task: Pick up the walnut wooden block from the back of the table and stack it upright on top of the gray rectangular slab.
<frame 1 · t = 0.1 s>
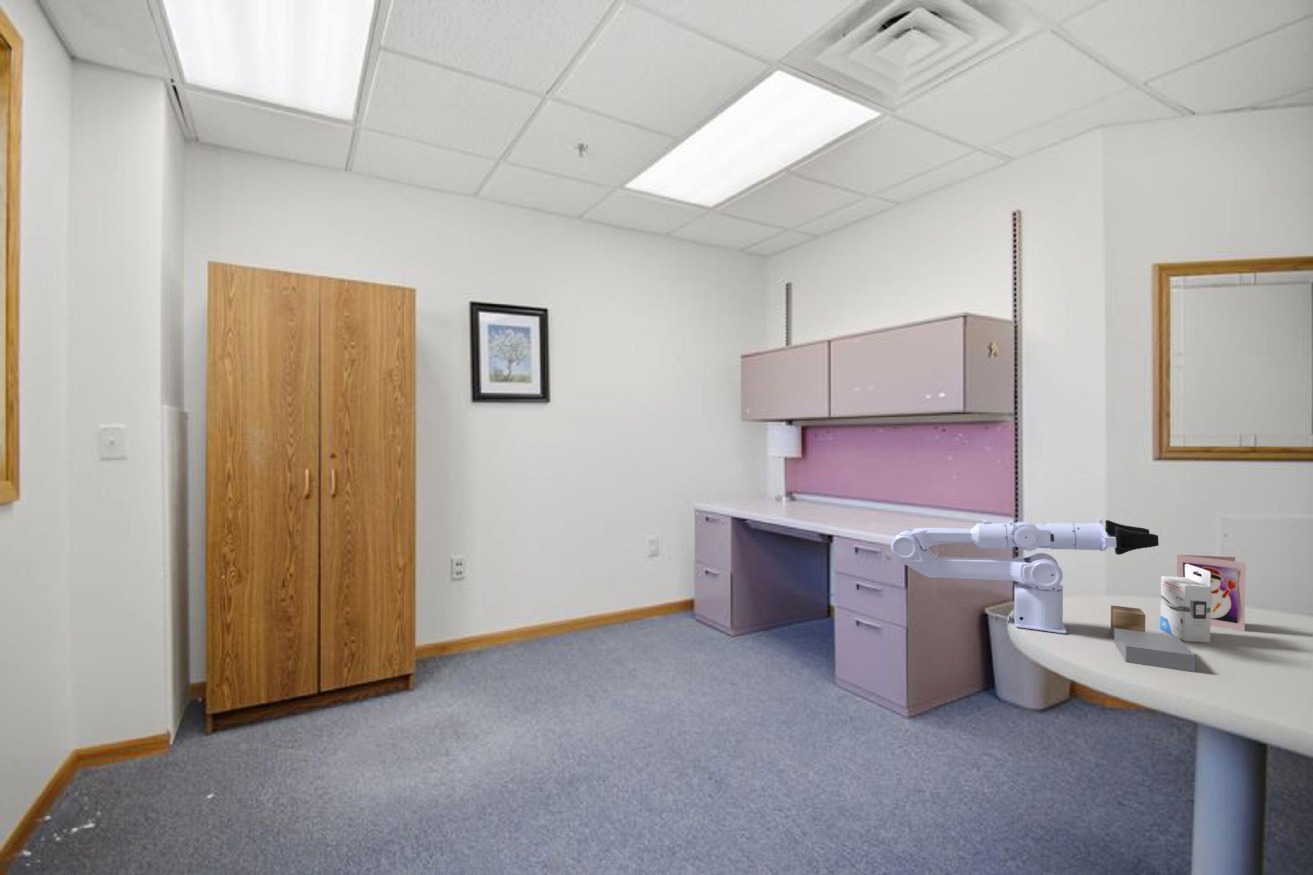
hand: (1153, 537, 126), 22 cm above the table, tool horizontal, fingers open, 7 cm apart
greeting card: (1210, 623, 139), on the table
gray rectangular slab: (1151, 656, 117), on the table
walnut block: (1127, 638, 128), on the table
ink box: (1184, 636, 130), on the table
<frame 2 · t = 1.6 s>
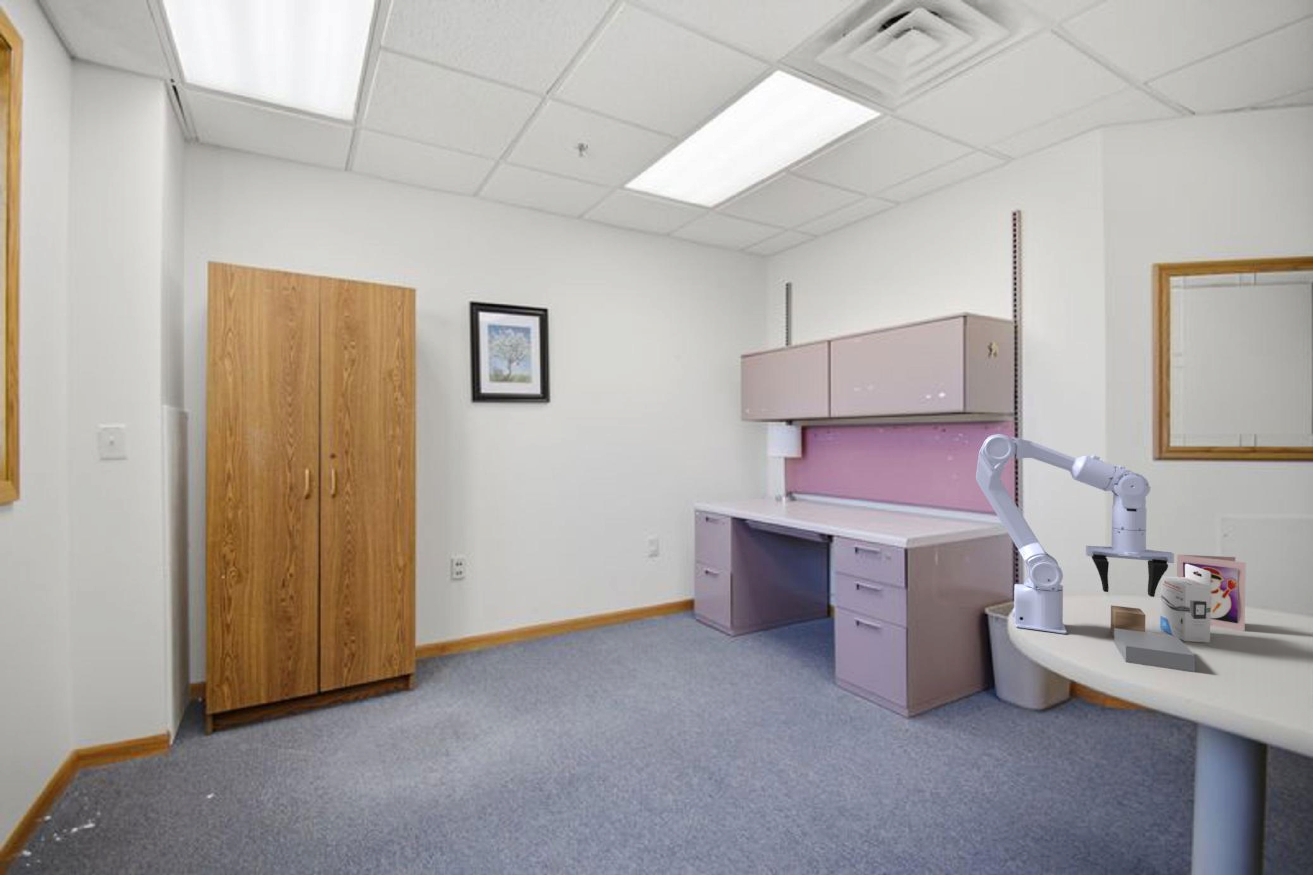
hand: (1127, 593, 128), 9 cm above the table, tool pointing down, fingers open, 7 cm apart
nothing on the table moved.
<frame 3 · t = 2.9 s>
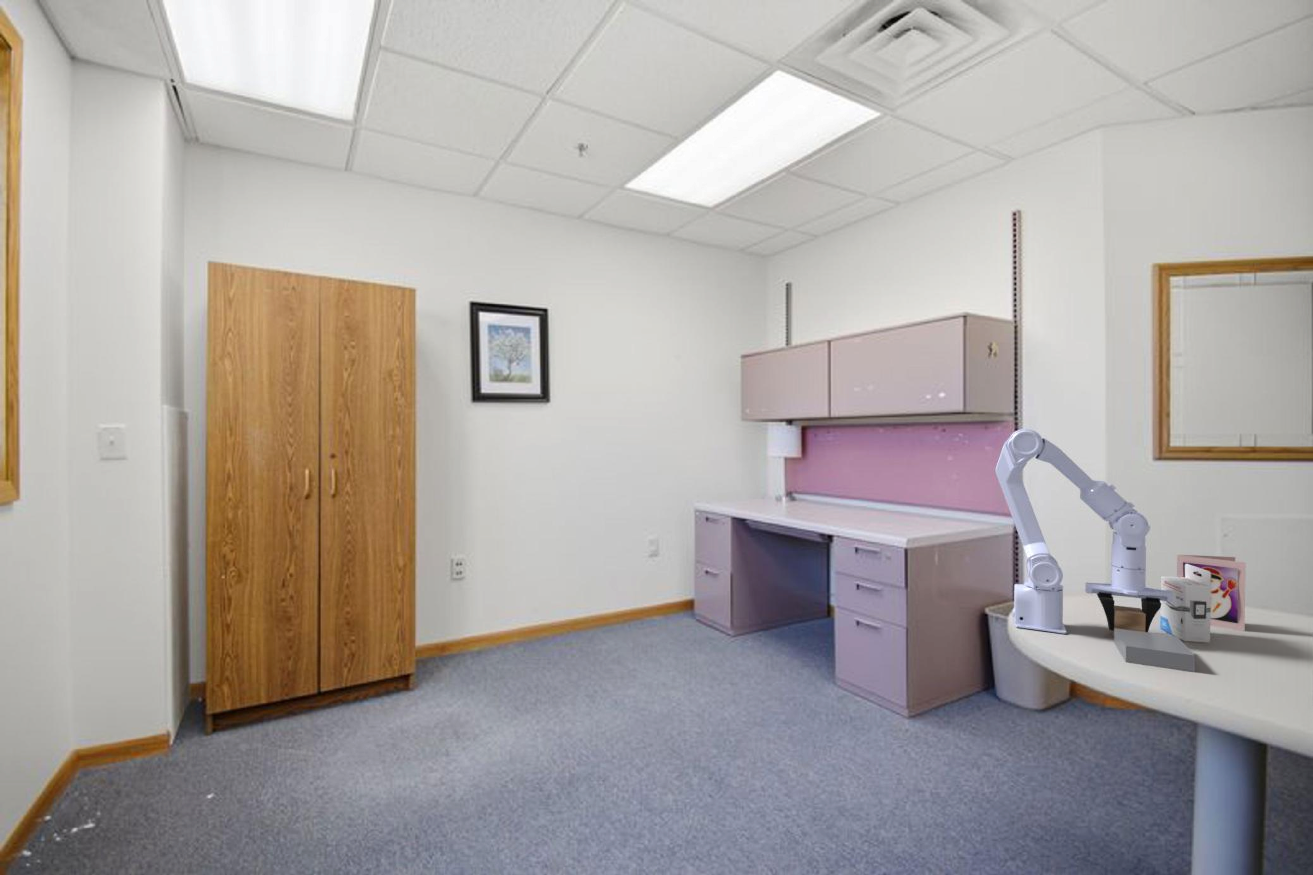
hand: (1127, 631, 128), 1 cm above the table, tool pointing down, fingers closed on walnut block, 5 cm apart
walnut block: (1127, 638, 128), on the table, touching gripper
everything else where it was.
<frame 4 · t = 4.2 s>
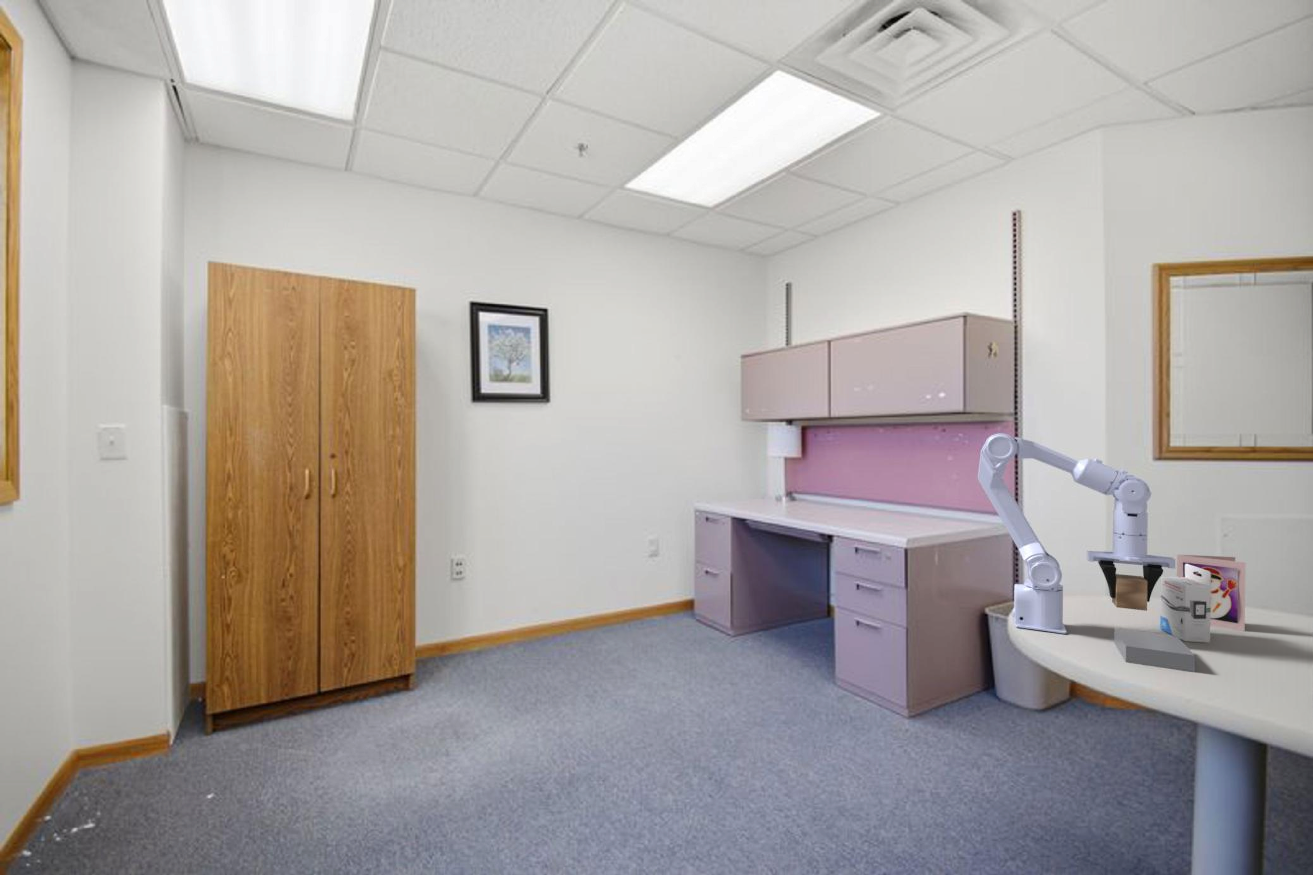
hand: (1129, 598, 127), 8 cm above the table, tool pointing down, fingers closed on walnut block, 5 cm apart
walnut block: (1129, 606, 128), point 7 cm above the table, touching gripper
everything else where it was.
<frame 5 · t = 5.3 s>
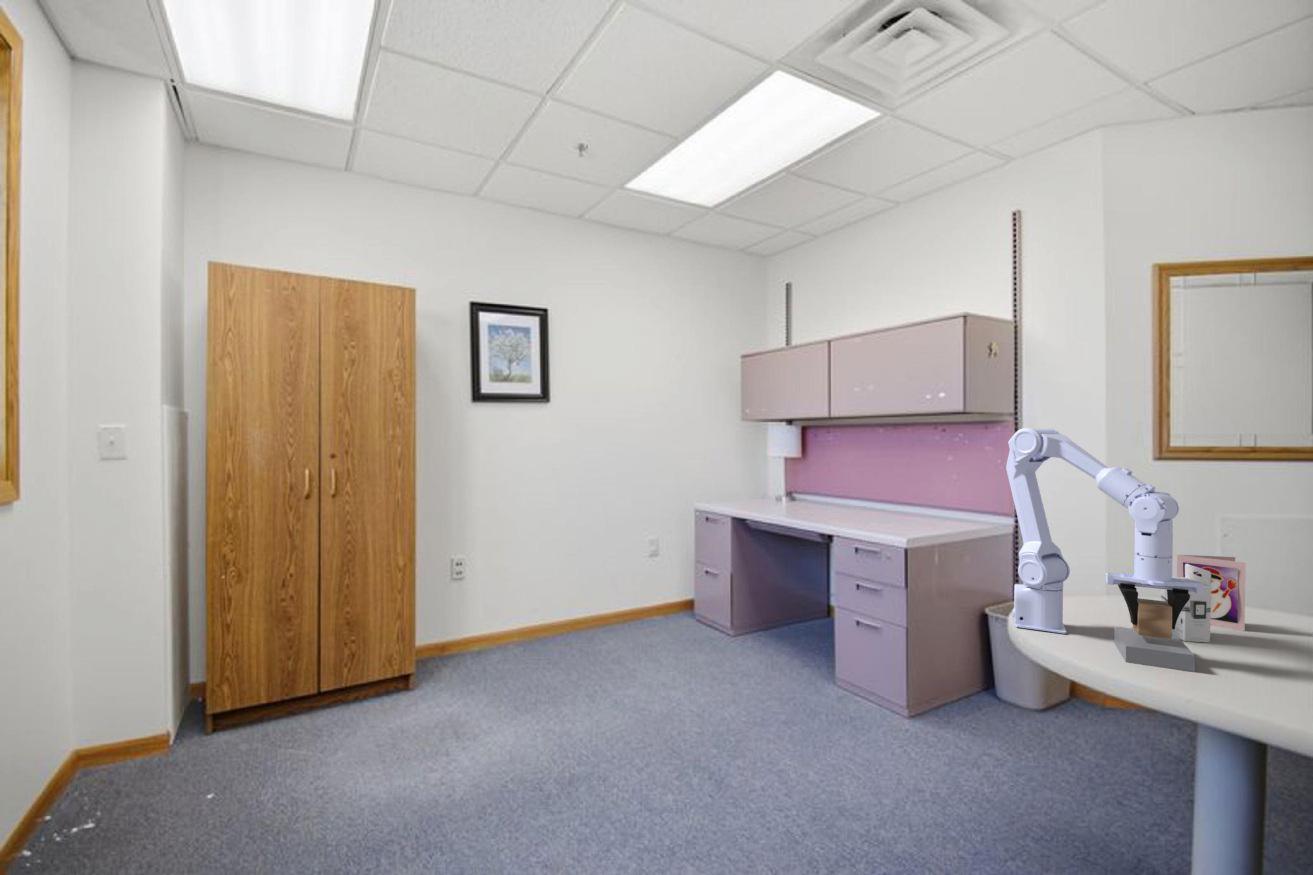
hand: (1152, 625, 117), 6 cm above the table, tool pointing down, fingers closed on walnut block, 5 cm apart
walnut block: (1151, 633, 118), point 4 cm above the table, touching gripper
everything else where it was.
when the fingers open (6 cm above the table, at t = 5.8 s): walnut block drops 1 cm, resting on gray rectangular slab.
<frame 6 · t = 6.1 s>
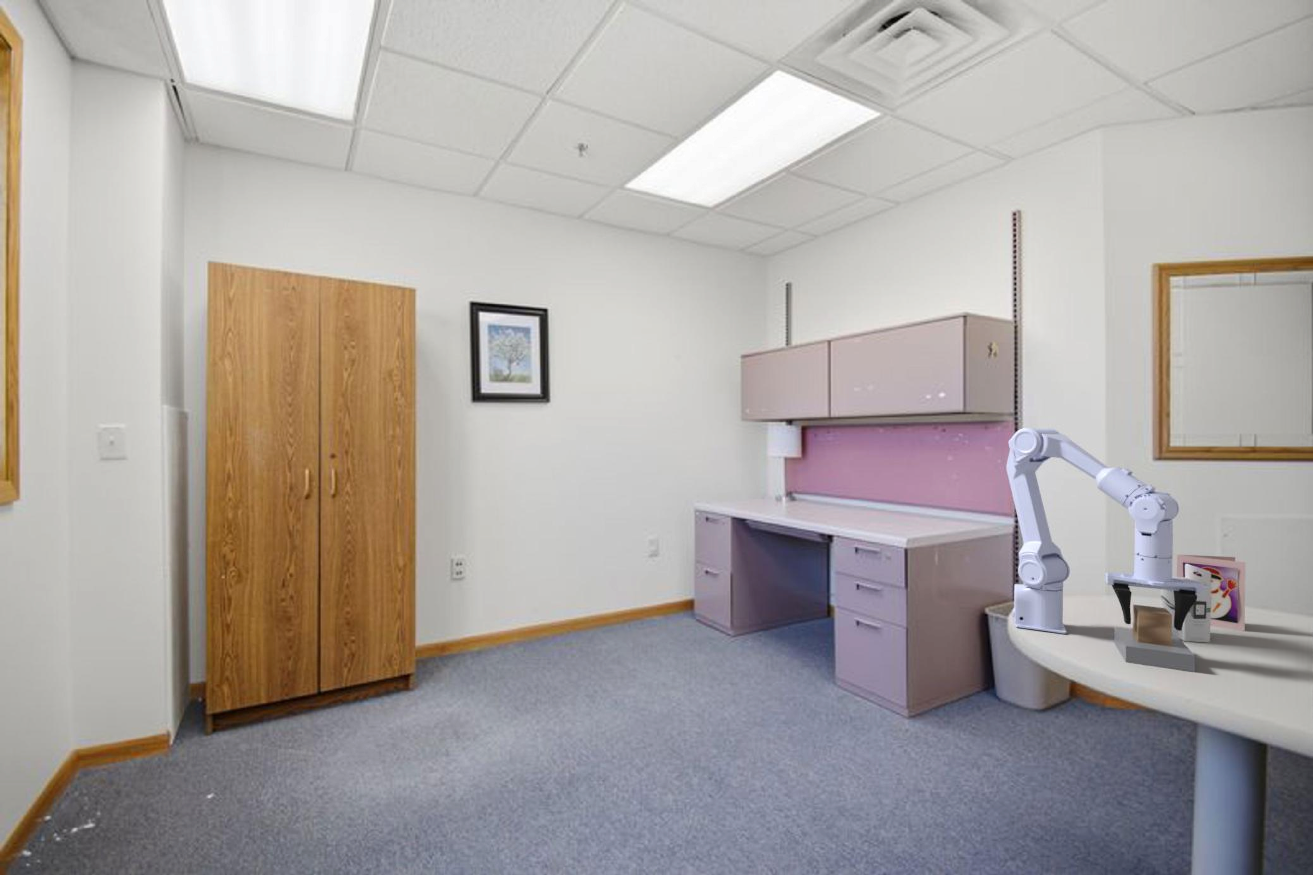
hand: (1152, 625, 117), 6 cm above the table, tool pointing down, fingers open, 7 cm apart
walnut block: (1151, 640, 118), point 3 cm above the table, touching gray rectangular slab
everything else where it was.
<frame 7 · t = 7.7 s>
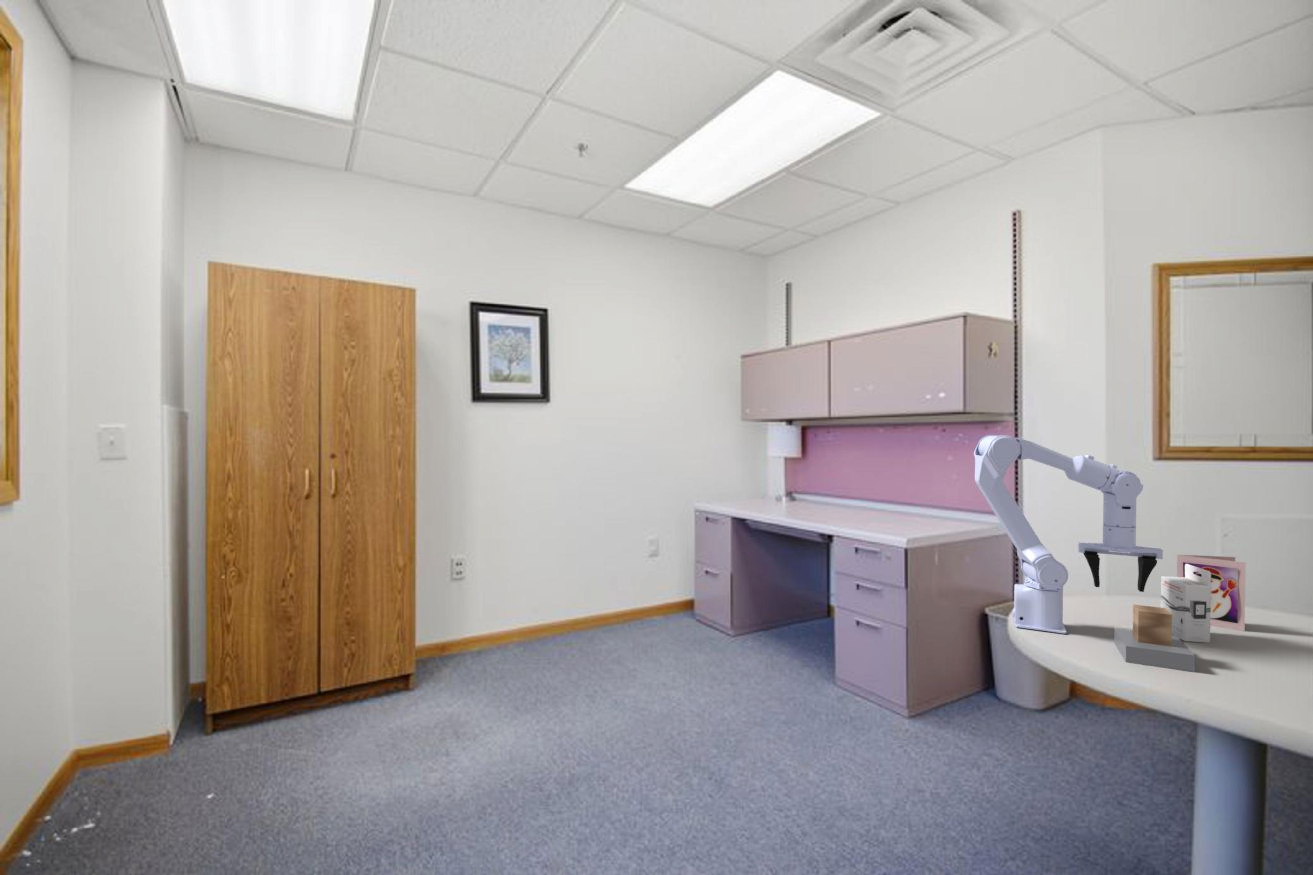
hand: (1118, 588, 132), 9 cm above the table, tool pointing down, fingers open, 7 cm apart
nothing on the table moved.
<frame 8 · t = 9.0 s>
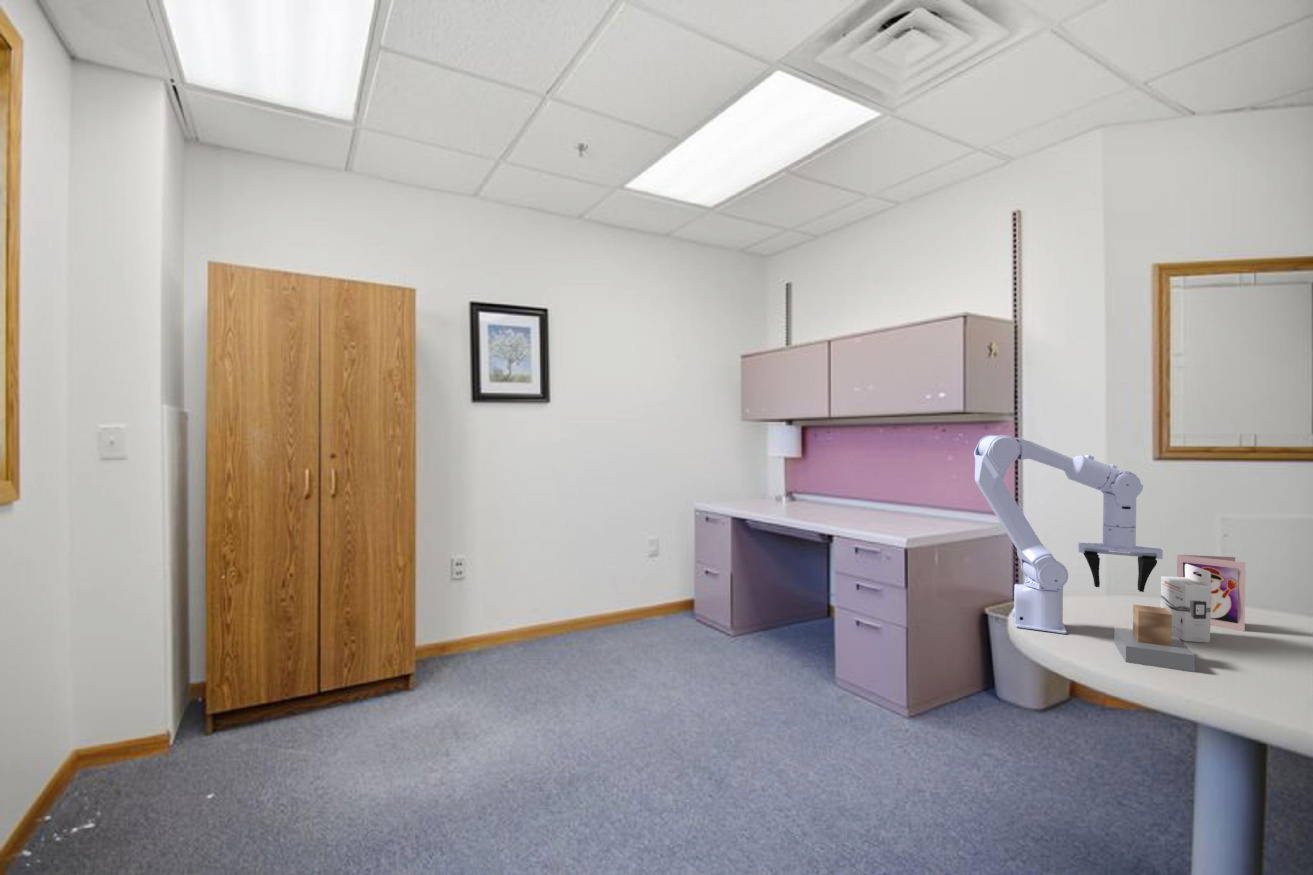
hand: (1118, 588, 132), 9 cm above the table, tool pointing down, fingers open, 7 cm apart
nothing on the table moved.
at the end: walnut block 0.2 cm off-centre on the gray rectangular slab, point 3.0 cm above the gray rectangular slab's base; walnut block tilted 0°; the gripper is holding nothing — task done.
